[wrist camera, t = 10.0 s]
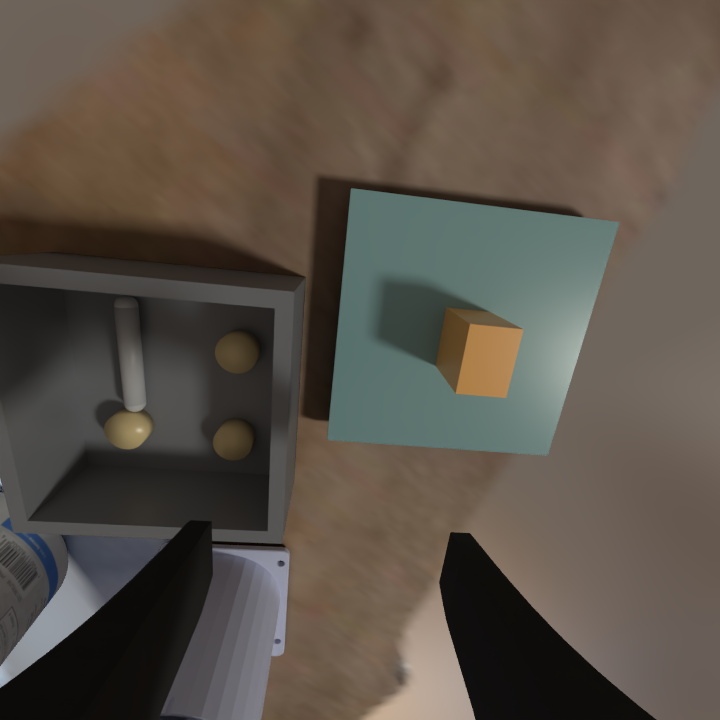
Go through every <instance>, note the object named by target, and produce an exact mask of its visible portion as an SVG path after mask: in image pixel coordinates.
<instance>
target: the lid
mask: <svg viewBox="0 0 720 720" xmlns="http://www.w3.org/2000/svg"><path fill="white" fill-rule="evenodd" d="M619 223H620V222H614V221H606V220H598V219H590V218H582V217H574V216H567V215H559V214H551V213H543V212H535V211H527V210H519V209H511V208H504V207H496V206H488V205H480V204H472V203H464V202H456V201H448V200H441V199H433V198H425V197H417V196H409V195H401V194H393V193H385V192H378V191H370V190H362V189H354V188H351V190H350V201H349V212H348V222H347V233H346V244H345V254H344V265H343V276H342V286H341V297H340V308H339V318H338V329H337V339H336V350H335V361H334V371H333V382H332V393H331V403H330V414H329V425H328V437H327V440H335V441H349V442H364V443H378V444H392V445H406V446H421V447H435V448H449V449H463V450H477V451H492V452H506V453H520V454H534V455H535V454H536V455H548V452H549V449H550V446H551V443H552V439H553V436H554V433H555V430H556V427H557V423H558V420H559V417H560V413H561V410H562V407H563V404H564V401H565V397H566V394H567V391H568V388H569V384H570V381H571V378H572V375H573V371H574V368H575V365H576V362H577V359H578V355H579V352H580V349H581V346H582V342H583V339H584V336H585V333H586V329H587V326H588V323H589V320H590V316H591V313H592V310H593V307H594V303H595V300H596V297H597V294H598V291H599V287H600V284H601V281H602V278H603V274H604V271H605V268H606V265H607V261H608V258H609V255H610V252H611V248H612V245H613V242H614V239H615V235H616V232H617V229H618V226H619Z"/></svg>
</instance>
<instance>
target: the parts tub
mask: <svg viewBox="0 0 720 720" xmlns="http://www.w3.org/2000/svg"><path fill="white" fill-rule="evenodd" d="M305 281H306V277H299V276H289V275H278V274H268V273H258V272H248V271H238V270H228V269H218V268H207V267H197V266H187V265H177V264H167V263H157V262H146V261H136V260H126V259H116V258H106V257H96V256H86V255H75V254H65V253H55V252H49V253H34V254H18V255H3V256H0V478H1V482H2V487H3V491H4V495H5V499H6V504H7V508H8V512H9V516H10V521H11V525H12V529H13V533H31V534H55V535H79V536H104V537H128V538H153V539H172V538H173V537H174V536H175V535H176V534H177V533H178V532H179V531H180V530H181V529H182V527H183V526H184V525H185V524H186V523H187V522H189V521H190V520H197V521H212V541H226V542H250V543H275V544H282V543H283V537H284V532H285V526H286V521H287V516H288V510H289V505H290V499H291V494H292V489H293V483H294V476H295V458H296V440H297V423H298V405H299V387H300V369H301V352H302V334H303V316H304V298H305Z"/></svg>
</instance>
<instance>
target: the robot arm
mask: <svg viewBox="0 0 720 720" xmlns="http://www.w3.org/2000/svg"><path fill="white" fill-rule="evenodd" d="M289 559H290V552H289V550H288V549H287V548H285V547H270V546H245V545H220V544H212V521H197V520H190V521H189V522H187V523H186V524H185V525H184V526H183V527H182V529H181V530H180V531H179V532H178V533H177V534H176V535H175V536H174V537H173V538H172V539H171V540H170V541H169V542H168V543H164V544H163V545H162V546H161V547H160V549H159V553H158V554H157V555H156V556H155V557H154V558H153V559H152V560H151V561H150V562H149V563H148V564H147V565H146V566H145V567H144V568H143V569H142V570H141V571H140V572H139V573H138V574H137V575H136V576H135V577H134V578H133V579H132V580H131V581H130V582H129V583H127V584H126V585H125V586H124V587H123V588H122V589H121V590H120V591H119V592H118V593H117V594H116V595H114V596H113V597H112V598H111V599H110V600H109V601H108V602H107V603H106V604H105V605H104V606H102V607H101V608H100V609H99V610H98V611H97V612H96V613H95V614H94V615H92V617H90V618H89V619H88V620H87V621H85V622H84V623H83V624H82V625H81V626H80V627H78V628H77V629H76V630H75V631H74V632H73V633H71V634H70V635H69V636H68V637H66V638H65V639H64V640H63V641H61V642H60V643H59V644H58V645H56V646H55V647H54V648H53V649H52V650H50V651H49V652H48V653H46V654H45V655H44V656H43V657H41V658H40V659H38V660H37V661H36V662H35V663H33V664H32V665H31V666H29V667H28V668H27V669H25V670H24V671H23V672H21V673H20V674H19V675H18V676H16V677H15V678H13V679H12V680H11V681H9V682H8V683H7V684H5V685H4V686H2V687H1V688H0V720H261V717H262V711H263V705H264V699H265V693H266V687H267V680H268V674H269V668H270V662H271V656H280V655H282V654H283V652H284V647H285V630H286V612H287V595H288V577H289ZM280 561H283V562H280ZM439 584H440V589H441V595H442V601H443V606H444V611H445V616H446V621H447V624H448V628H449V631H450V635H451V638H452V642H453V645H454V648H455V652H456V655H457V658H458V662H459V665H460V668H461V672H462V675H463V678H464V681H465V685H466V688H467V692H468V695H469V698H470V701H471V705H472V708H473V711H474V716H475V719H476V720H656V719H655V718H653V717H652V716H651V715H650V714H648V713H647V712H646V711H645V710H643V709H642V708H641V707H639V706H638V705H637V704H636V703H635V702H634V701H632V700H631V699H630V698H629V697H628V696H626V695H625V694H624V693H623V692H622V691H620V690H619V689H618V688H617V687H616V686H615V685H613V684H612V683H611V682H610V681H609V680H607V679H606V678H605V677H604V676H603V675H602V674H601V673H599V672H598V671H597V670H596V669H595V668H594V667H593V666H592V665H591V664H589V663H588V662H587V661H586V660H585V659H584V658H583V657H582V656H581V655H580V654H579V653H578V652H577V651H576V650H574V649H573V648H572V647H571V646H570V645H569V644H568V643H567V642H566V641H565V640H564V639H563V638H562V637H561V636H560V635H559V634H558V633H557V632H556V631H555V630H554V629H553V628H552V627H551V626H550V625H549V624H548V623H547V622H546V621H545V620H544V619H543V618H542V616H541V615H540V614H539V613H538V612H537V611H536V610H535V609H534V608H533V607H532V606H531V605H530V604H529V603H528V601H527V600H526V599H525V598H524V597H523V596H522V595H521V594H520V592H519V591H518V590H517V589H516V588H515V587H514V586H513V585H512V583H511V582H510V581H509V580H508V579H507V577H506V576H505V575H504V574H503V573H502V572H501V571H500V569H499V568H498V567H497V566H496V564H495V563H494V562H493V561H492V560H491V559H490V557H489V556H488V555H487V553H486V552H485V551H484V550H483V549H482V547H481V546H480V545H479V544H478V543H477V541H476V540H475V539H474V538H473V536H472V535H471V534H470V533H454V532H451V533H450V537H449V542H448V546H447V550H446V555H445V559H444V564H443V568H442V573H441V577H440V581H439Z"/></svg>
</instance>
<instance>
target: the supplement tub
mask: <svg viewBox="0 0 720 720" xmlns="http://www.w3.org/2000/svg"><path fill="white" fill-rule="evenodd" d="M67 568H68V552H67V548H66V544H65V542H64V540H63V537H62V536H61V535H55V534H31V533H13V529H12V525H11V521H10V516H9V512H8V508H7V504H6V499H5V495H4V493H3V492H0V666H1V665H2V663H3V662H4V661H5V659H6V658H7V656H8V655H9V654H10V653H11V651H12V650H13V649H14V647H15V646H16V645H17V643H18V642H19V641H20V640H21V638H22V637H23V636H24V634H25V633H26V632H27V630H28V629H29V627H30V626H31V625H32V624H33V622H34V621H35V620H36V618H37V617H38V616H39V615H40V613H41V612H42V611H43V609H44V608H45V607H46V605H47V604H48V603H49V601H50V600H51V599H52V597H53V596H54V595H55V594H56V592H57V591H58V590H59V588H60V587H61V585H62V583H63V581H64V579H65V576H66V572H67Z"/></svg>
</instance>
